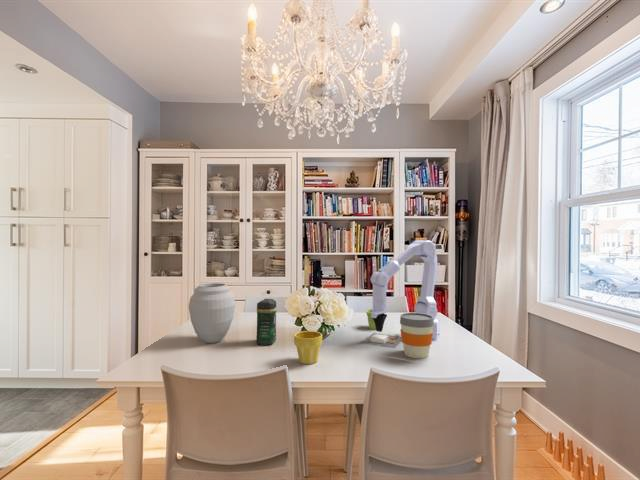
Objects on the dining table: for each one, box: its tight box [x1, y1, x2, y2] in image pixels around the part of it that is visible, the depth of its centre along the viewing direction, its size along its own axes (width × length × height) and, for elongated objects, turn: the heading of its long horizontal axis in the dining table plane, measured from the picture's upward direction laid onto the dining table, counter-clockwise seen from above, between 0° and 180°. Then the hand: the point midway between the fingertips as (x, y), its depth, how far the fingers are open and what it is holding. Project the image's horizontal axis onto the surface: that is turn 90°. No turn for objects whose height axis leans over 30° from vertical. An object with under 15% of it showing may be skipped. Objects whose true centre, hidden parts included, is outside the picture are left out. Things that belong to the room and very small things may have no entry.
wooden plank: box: [386, 333, 400, 344], centre depth 150 cm, size 11×3×1 cm, turn 151°
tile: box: [371, 333, 389, 344], centre depth 149 cm, size 6×2×6 cm
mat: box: [360, 332, 403, 349], centre depth 150 cm, size 15×17×1 cm
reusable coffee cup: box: [399, 312, 434, 359], centre depth 132 cm, size 12×13×15 cm
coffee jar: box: [256, 298, 277, 346], centre depth 148 cm, size 10×8×19 cm
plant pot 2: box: [365, 309, 385, 331], centre depth 170 cm, size 9×9×9 cm
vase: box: [188, 282, 236, 344], centre depth 150 cm, size 20×20×24 cm
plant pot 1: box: [293, 330, 323, 365], centre depth 126 cm, size 10×10×10 cm
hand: (379, 331), depth 148 cm, fingers closed
